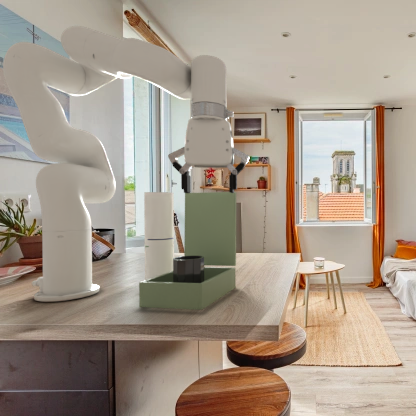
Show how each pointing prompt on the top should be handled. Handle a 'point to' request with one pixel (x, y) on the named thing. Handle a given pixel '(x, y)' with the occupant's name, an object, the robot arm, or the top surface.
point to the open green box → (187, 290)
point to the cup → (188, 269)
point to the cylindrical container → (158, 233)
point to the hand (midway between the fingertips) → (209, 192)
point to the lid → (211, 227)
